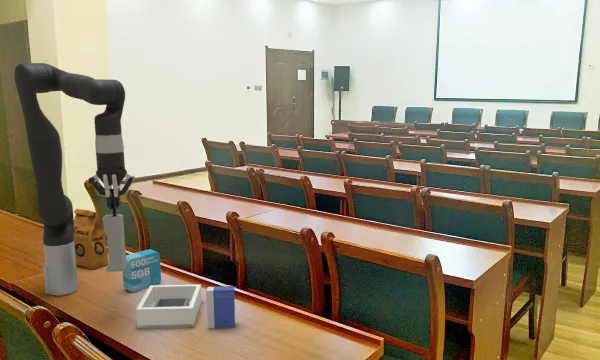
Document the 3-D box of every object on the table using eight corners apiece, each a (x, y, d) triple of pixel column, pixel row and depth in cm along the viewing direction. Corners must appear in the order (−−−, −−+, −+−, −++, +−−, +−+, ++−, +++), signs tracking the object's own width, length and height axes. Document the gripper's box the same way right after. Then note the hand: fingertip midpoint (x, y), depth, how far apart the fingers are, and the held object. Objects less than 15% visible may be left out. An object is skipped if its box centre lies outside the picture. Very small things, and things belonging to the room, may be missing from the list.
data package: (129, 293, 165) (127, 259, 162) (123, 289, 168) (121, 256, 165) (161, 283, 173) (159, 251, 171) (154, 279, 176) (153, 248, 174)
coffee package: (90, 272, 183) (85, 215, 179) (69, 265, 189) (64, 210, 185) (112, 264, 191) (108, 209, 187) (92, 258, 198) (88, 205, 194)
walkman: (235, 322, 145) (234, 284, 142) (234, 327, 142) (233, 288, 140) (208, 324, 144) (206, 285, 142) (207, 328, 141) (205, 289, 139)
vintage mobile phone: (109, 267, 150) (103, 187, 145) (126, 267, 150) (121, 187, 145) (106, 272, 146) (99, 190, 141) (123, 271, 146) (117, 189, 141)
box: (137, 328, 141) (136, 309, 140) (151, 303, 158) (150, 285, 156) (193, 327, 142) (192, 308, 141) (201, 301, 159) (200, 284, 157)
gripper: (80, 152, 137) (86, 212, 140) (130, 151, 138) (134, 211, 141) (90, 148, 144) (95, 205, 148) (137, 148, 145) (140, 205, 148)
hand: (114, 208), depth 144 cm, fingers closed on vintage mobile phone, 1 cm apart
